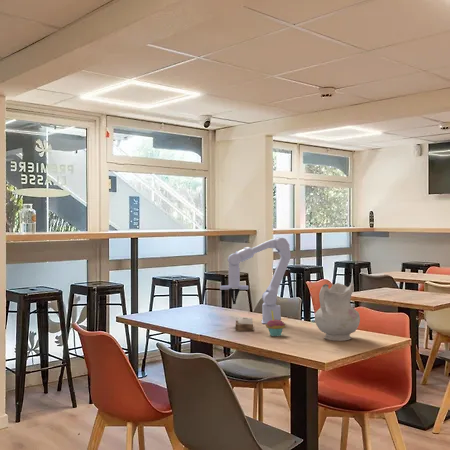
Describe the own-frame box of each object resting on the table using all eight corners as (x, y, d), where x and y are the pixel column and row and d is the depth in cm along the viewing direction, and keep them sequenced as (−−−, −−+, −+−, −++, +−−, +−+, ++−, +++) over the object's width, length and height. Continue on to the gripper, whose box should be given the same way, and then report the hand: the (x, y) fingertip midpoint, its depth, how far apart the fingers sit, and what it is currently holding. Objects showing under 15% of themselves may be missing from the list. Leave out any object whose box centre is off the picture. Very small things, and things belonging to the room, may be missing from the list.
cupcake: (272, 337, 250) (272, 310, 250) (262, 334, 258) (262, 308, 258) (288, 335, 254) (288, 309, 254) (278, 332, 262) (278, 306, 262)
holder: (252, 326, 278) (252, 320, 278) (252, 330, 267) (252, 324, 267) (235, 326, 278) (235, 320, 278) (235, 330, 267) (235, 324, 267)
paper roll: (252, 327, 276) (251, 316, 276) (252, 330, 269) (252, 319, 269) (238, 327, 276) (238, 317, 276) (238, 330, 269) (238, 319, 269)
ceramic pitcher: (347, 348, 233) (351, 288, 232) (303, 339, 244) (307, 282, 243) (364, 339, 252) (368, 283, 251) (323, 331, 262) (326, 278, 261)
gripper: (219, 277, 284) (219, 304, 284) (248, 277, 283) (248, 304, 283) (220, 276, 291) (220, 303, 291) (248, 276, 290) (248, 302, 290)
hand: (234, 303), depth 287 cm, fingers closed
